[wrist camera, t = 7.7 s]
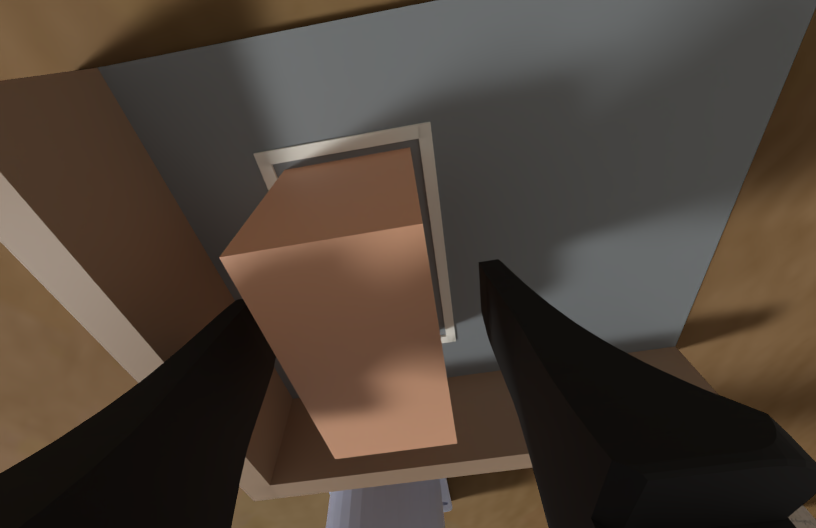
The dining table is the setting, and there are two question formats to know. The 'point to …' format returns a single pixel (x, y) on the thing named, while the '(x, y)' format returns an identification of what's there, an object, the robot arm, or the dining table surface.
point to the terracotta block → (349, 301)
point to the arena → (435, 179)
